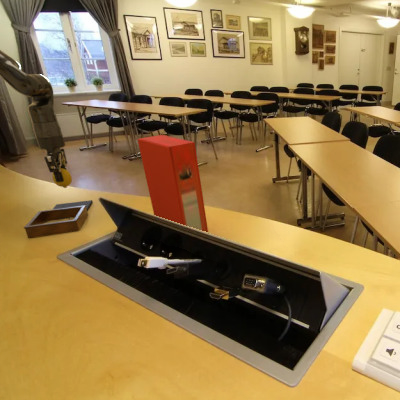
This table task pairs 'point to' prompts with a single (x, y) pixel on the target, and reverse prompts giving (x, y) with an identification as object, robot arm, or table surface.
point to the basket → (40, 229)
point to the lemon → (66, 178)
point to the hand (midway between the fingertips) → (62, 179)
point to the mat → (74, 204)
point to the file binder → (173, 180)
